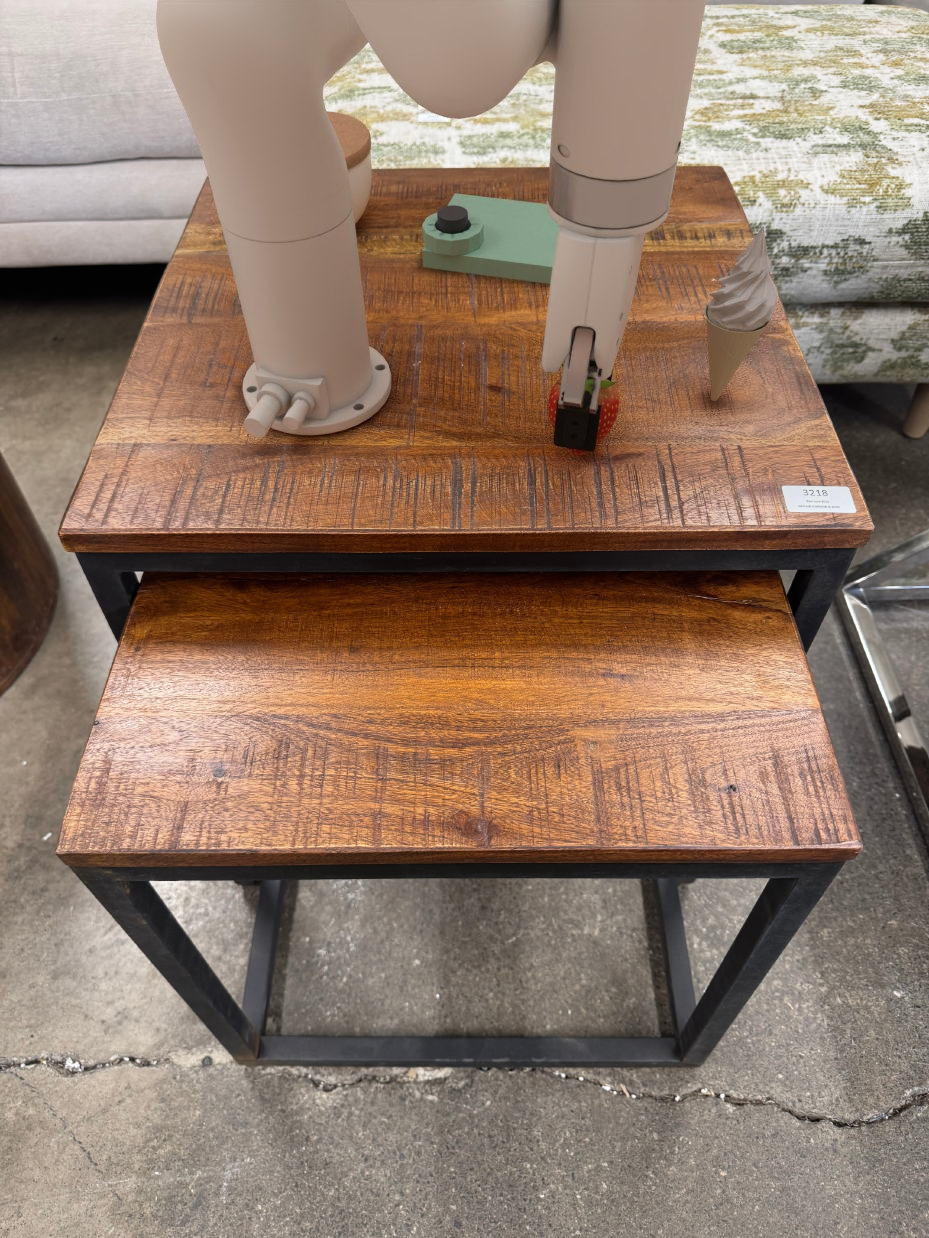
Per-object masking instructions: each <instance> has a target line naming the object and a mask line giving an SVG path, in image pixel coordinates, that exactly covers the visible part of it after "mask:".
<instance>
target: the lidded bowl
mask: <svg viewBox="0 0 929 1238" xmlns="http://www.w3.org/2000/svg"><path fill="white" fill-rule="evenodd" d="M326 111H327V110H326ZM327 114H328V117H329V119H330V122H331V124H332V126H333V128H334V130H335V132H336V135H337V137H338V139H339V142H340V144H341V147H342V150H343V153H344V157H345V160H346V165H347V170H348V175H349V182H350V190H351V198H352V204H353V212H354V220H355V225H356V224H357V223H358V222H359V220H360V219H361V217H362V216H363V215H364V213H365V211H366V209H367V206H368V203H369V200H370V196H371V189H372V181H373V179H372V178H373V172H372V171H373V163H372V153H371V149H372V136H371V132H370V130H369V128H368V127H367V126H366V124H365V123H364V122H362V121H361V120H360V119H357V118H356V117H353V116H351V115H349V114H345V113H341V112H336V111H327Z"/></svg>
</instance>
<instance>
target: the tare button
mask: <svg viewBox="0 0 929 1238" xmlns="http://www.w3.org/2000/svg"><path fill="white" fill-rule="evenodd" d="M436 212H437V223H438V231H440V232H442V233H446V234H457V233H463V232H465V231H467V230H468V211H467V210H466V209H465V208H464V207H461V206H456V205H450V206H448V205H444V206H443V207H441V208H439V209H438V210H437V211H436Z"/></svg>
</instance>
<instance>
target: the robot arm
mask: <svg viewBox="0 0 929 1238" xmlns="http://www.w3.org/2000/svg"><path fill="white" fill-rule="evenodd" d="M706 4H707V0H157V2H156V14H155V21H156V22H155V24H156V33H157V39H158V43H159V48H160V52H161V56H162V59H163V61H164V65H165V67H166V70H167V72H168V74H169V77H170V79H171V81H172V84H173V87H174V88H175V90H176V93H177V95H178V98H179V100H180V102H181V104H182V106H183V108H184V111H185V113H186V115H187V118H188V120H189V123H190V125H191V128H192V130H193V133H194V136H195V139H196V141H197V144H198V148H199V151H200V153H201V157H202V160H203V163H204V167H205V170H206V173H207V177H208V180H209V181H208V182H209V184H210V189H211V192H212V196H213V201H214V204H215V208H216V209H215V210H216V212H217V217H218V221H219V223H220V225H221V231H222V234H223V237H224V242H225V246H226V250H227V254H228V258H229V262H230V267H231V270H232V274H233V278H234V283H235V287H236V290H237V295H238V298H239V303H240V308H241V311H242V316H243V319H244V323H245V328H246V331H247V336H248V341H249V344H250V348H251V352H252V356H253V360H254V362H253V363H251V365H250V367H248V369H247V370H246V372H245V375H244V377H243V379H242V389H241V390H242V394H243V398H244V399H243V400H244V403H245V405H246V408H247V410H248V411H249V413H248V414H247V416H246V418H245V419H244V420H243V423H242V426H243V429H244V430H245V432H246V433H247V434H248V435H250V436H251V437H252V438H256V439H263V438H265V437H266V435H267V434H268V433H269V431H270V430H271V429H273V430H276V431H278V432H283V433H284V434H285V433H286V434H291V435H298V436H320V435H327V434H334V433H337V432H342V431H345V430H348V429H350V428H353V427H356V426H358V425H360V424H362V423H363V422H365V421H368V419H370V418H371V417H373V416H374V415H375V414H376V413H378V412H379V411H380V410H381V408H382V407H383V406H384V405H385V404H386V402H387V401H388V399H389V396H390V395H391V390H392V385H393V384H392V374H391V373H392V372H391V368H390V364H389V363H388V362H387V360H386V359H385V356H383V354H381V353H380V352H379V351H378V350H377V349H375V348H373V347H372V346H370V339H369V333H368V324H367V315H366V307H365V298H364V289H363V282H362V281H363V280H362V272H361V265H360V256H359V247H358V238H357V230H356V229H357V228H356V224H355V220H354V212H353V204H352V198H351V190H350V182H349V175H348V170H347V165H346V160H345V157H344V153H343V150H342V147H341V144H340V142H339V139H338V137H337V135H336V132H335V130H334V128H333V126H332V124H331V122H330V119H329V117H328V114H327V109H326V106H325V100H324V87H325V85H326V84H327V83H328V82H329V81H331V79H332V78H333V77H334V76H335V74H336V73H337V72H339V71H340V70H341V69H342V68H343V67H345V65H347V64H348V63H349V62H350V61H351V60H352V59H354V58H355V57H356V56H357V55H358V54H360V52H361V51H362V50H363V49H364V48H365V47H366V46H367V45H368V44H369V46H370V47H371V49H372V51H373V52H374V53H375V55H376V57H377V58H378V60H379V62H380V63H381V65H382V66H383V68H384V69H385V71H386V72H387V73H388V74H389V75H390V77H391V79H392V80H393V81H395V83H396V84H397V86H398V87H399V88H400V89H401V90H402V91H403V93H405V94H406V95H407V96H408V97H409V98H410V99H412V101H414V102H415V104H417V105H419V106H420V107H422V108H424V109H425V110H426V111H428V112H430V113H432V114H434V115H437V116H440V117H444V118H446V119H454V120H455V119H456V120H462V119H463V120H464V119H468V118H474V117H477V116H479V115H482V114H485V113H487V112H488V111H490V110H492V109H494V108H495V107H497V106H498V105H499V104H500V103H501V102H502V101H503V100H504V99H506V98H507V97H508V95H509V94H510V93H511V92H512V91H513V90H514V88H515V87H516V86H517V85H518V84H519V83H520V82H521V80H522V79H523V78H524V77H525V76H526V74H527V73H528V72H529V71H530V69H532V68H534V67H536V66H539V65H540V64H543V63H545V62H548V63H550V64H552V65H553V67H554V85H553V102H552V116H551V133H550V147H549V148H550V149H549V151H550V152H549V165H548V167H549V168H548V181H547V182H548V183H547V197H546V204H547V210H548V213H549V215H550V216H551V218H552V219H553V220H554V221H555V222H557V223H558V224H559V230H558V235H557V241H556V247H555V253H554V259H553V267H552V274H551V282H550V284H549V292H548V299H547V309H546V318H545V319H546V320H545V328H544V338H543V346H542V355H541V364H540V366H541V369H542V370H543V371H544V373H546V374H549V373H552V374H557V373H558V372H559V371H560V369H561V368H562V364H563V368H562V370H561V372H562V373H561V377H562V379H561V386H560V394H559V399H558V400H557V405H556V416H555V428H554V429H553V439H552V440H553V441H552V443H553V445H554V446H555V447H557V448H564V449H566V448H569V449H575V450H581V451H587V453H592V452H594V451H595V450H596V447H597V446H596V444H597V437H598V430H599V423H600V416H601V409H602V405H598V402H599V396H600V390H601V384H602V381H603V380H605V379H608V380H609V381H611V382H612V379H613V373H614V367H615V363H616V360H617V356H618V354H619V350H620V348H621V344H622V341H623V339H624V334H625V331H626V327H627V324H628V320H629V317H630V313H631V310H632V309H631V308H632V305H633V300H634V296H635V291H636V287H637V282H638V278H639V273H640V266H641V260H642V255H643V249H644V244H645V238H646V234H647V233H650V232H651V231H654V230H655V229H658V228H660V226H661V225H662V224H664V222H665V221H666V220H667V218H668V216H669V212H670V205H671V200H672V195H673V189H674V183H675V178H676V172H677V167H678V162H679V156H680V149H681V144H682V138H683V133H684V125H685V121H686V117H687V116H686V115H687V110H688V105H689V100H690V99H689V98H690V94H691V87H692V83H693V77H694V73H695V72H694V71H695V67H696V61H697V56H698V55H697V54H698V50H699V49H698V48H699V43H700V37H701V34H702V33H701V32H702V27H703V21H704V15H705V10H706ZM587 379H594V380H593V386H592V393H591V394H590V391H586V382H587Z"/></svg>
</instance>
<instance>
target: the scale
mask: <svg viewBox="0 0 929 1238" xmlns="http://www.w3.org/2000/svg"><path fill="white" fill-rule="evenodd" d="M450 205H456V206H461V207H464V208H465V209H466V210H467V211H468V230H467V231H465V232H463V233H457V234H446V233H442V232H440V231H438V223H437V212H438V211H436V212H434V213H432V214H430V215H428V216H426V217H425V219H424V221H423V223H422V224H421V233H422V235H421V236H422V242H423V244H424V246H423V248H422V250H421V251H422V252H421V253H422V254H421V255H422V267H423V268H425V269H433V270H440V271H448V272H455V273H463V274H470V275H478V276H486V277H494V278H500V279H506V280H507V279H508V280H515V281H522V282H530V283H539V284H545V285H550V282H551V274H552V267H553V259H554V253H555V247H556V241H557V235H558V230H559V224H558V223H557V222H555V221H554V220H553V219H552V218H551V216H550V215H549V213H548V210H547V203H540V202H532V201H524V200H516V199H507V198H499V197H497V198H496V197H489V196H481V195H472V194H466V193H465V194H464V193H454V194H453V196H452V197H451V199H450V201H449V203H448V204H447V206H450Z"/></svg>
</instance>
